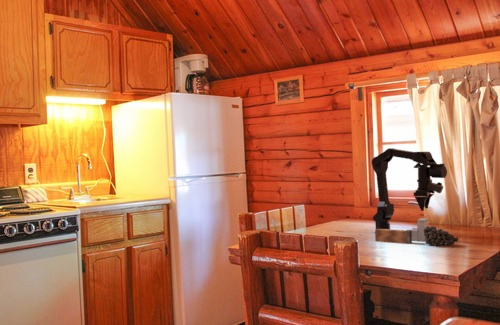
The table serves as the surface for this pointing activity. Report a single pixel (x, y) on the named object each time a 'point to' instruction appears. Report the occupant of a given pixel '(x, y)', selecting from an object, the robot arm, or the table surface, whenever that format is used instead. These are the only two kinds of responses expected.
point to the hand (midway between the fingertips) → (424, 209)
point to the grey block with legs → (419, 230)
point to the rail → (393, 236)
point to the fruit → (438, 236)
